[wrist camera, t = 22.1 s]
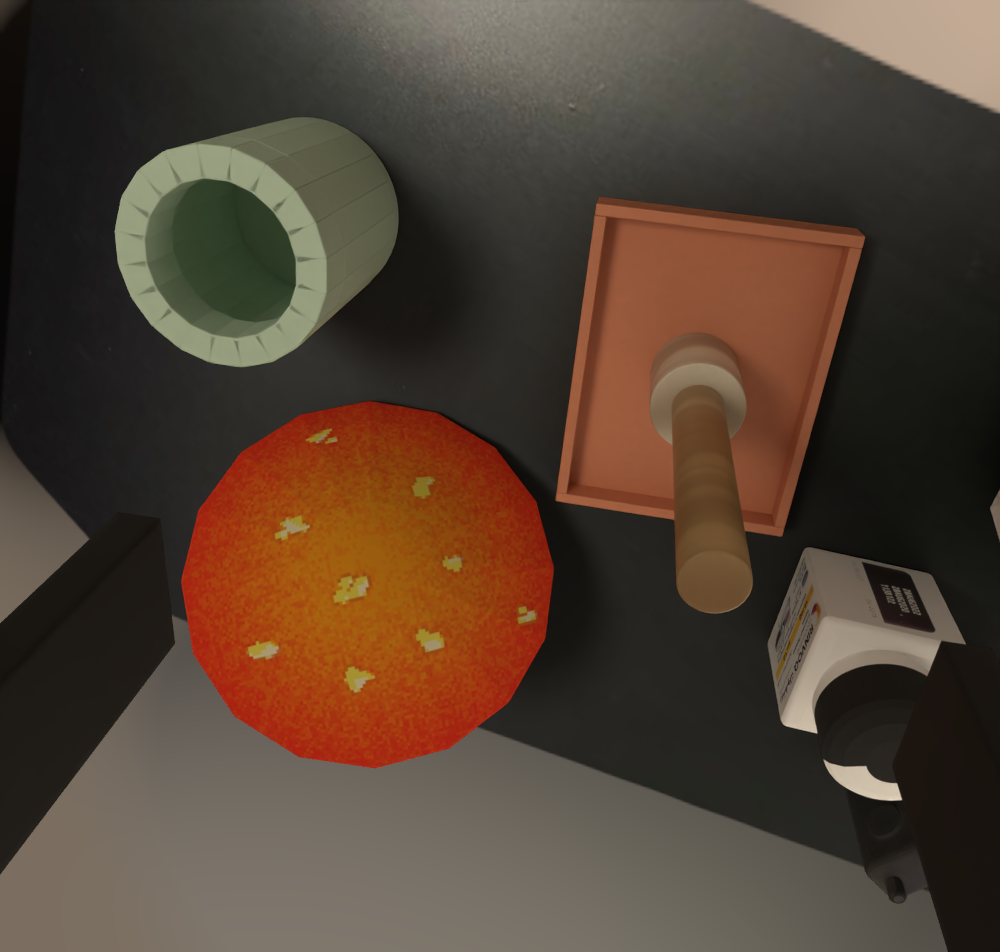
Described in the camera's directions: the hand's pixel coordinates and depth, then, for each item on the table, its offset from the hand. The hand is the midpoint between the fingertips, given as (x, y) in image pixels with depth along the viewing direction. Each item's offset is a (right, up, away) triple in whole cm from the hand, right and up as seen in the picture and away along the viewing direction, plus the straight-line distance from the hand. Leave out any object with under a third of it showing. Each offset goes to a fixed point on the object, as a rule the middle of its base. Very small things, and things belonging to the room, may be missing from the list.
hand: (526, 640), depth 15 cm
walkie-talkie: (+25, -16, +45) cm, 54 cm away
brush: (+10, +8, +34) cm, 37 cm away
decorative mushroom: (-6, +1, +42) cm, 42 cm away
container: (+21, -5, +40) cm, 46 cm away
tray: (+10, +9, +35) cm, 37 cm away
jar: (-11, +17, +34) cm, 40 cm away
